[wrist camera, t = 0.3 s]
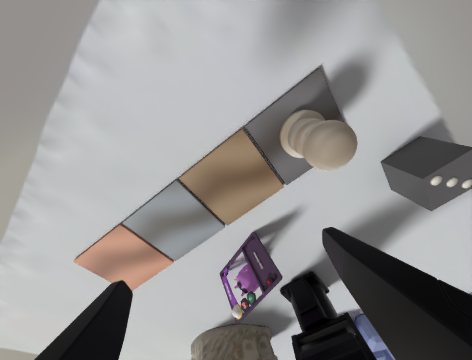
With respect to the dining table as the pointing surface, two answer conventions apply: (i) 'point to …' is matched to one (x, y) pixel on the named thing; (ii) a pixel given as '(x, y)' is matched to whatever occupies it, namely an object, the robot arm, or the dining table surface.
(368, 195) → the dining table surface
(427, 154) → the die
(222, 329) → the sand castle
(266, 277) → the game card
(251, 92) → the dining table surface
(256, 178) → the game board
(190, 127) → the dining table surface
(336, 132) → the pawn
